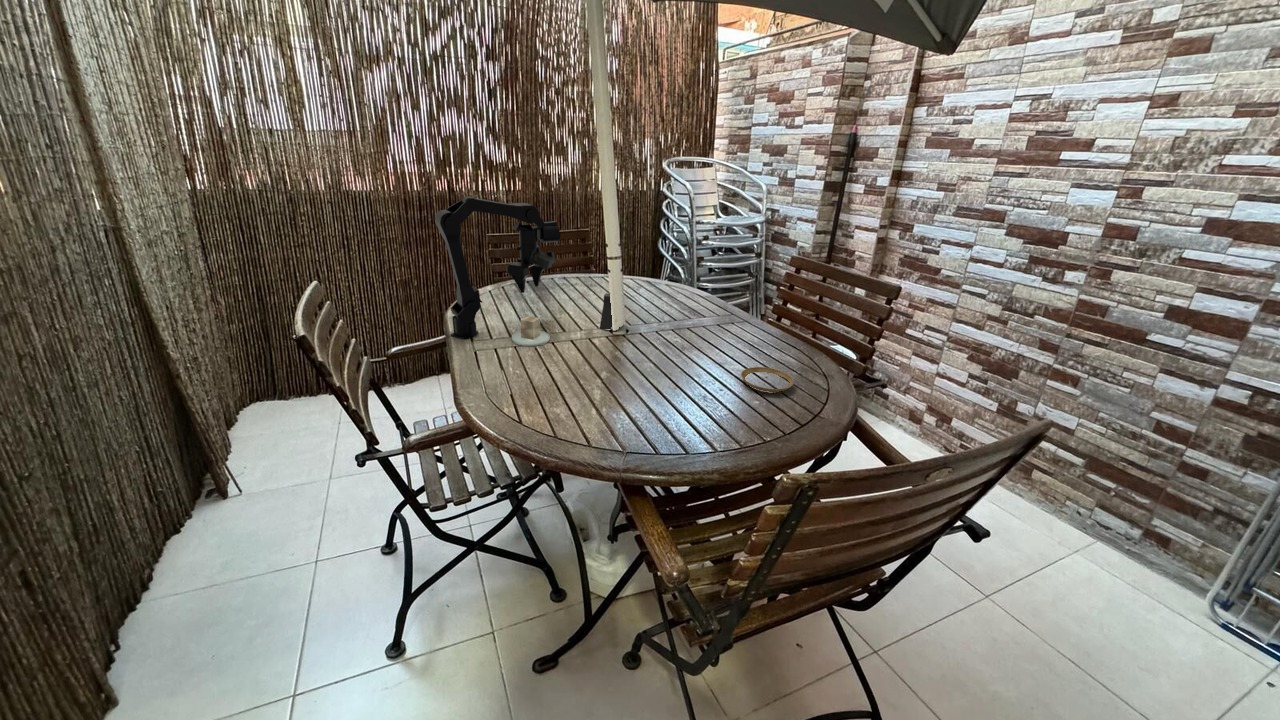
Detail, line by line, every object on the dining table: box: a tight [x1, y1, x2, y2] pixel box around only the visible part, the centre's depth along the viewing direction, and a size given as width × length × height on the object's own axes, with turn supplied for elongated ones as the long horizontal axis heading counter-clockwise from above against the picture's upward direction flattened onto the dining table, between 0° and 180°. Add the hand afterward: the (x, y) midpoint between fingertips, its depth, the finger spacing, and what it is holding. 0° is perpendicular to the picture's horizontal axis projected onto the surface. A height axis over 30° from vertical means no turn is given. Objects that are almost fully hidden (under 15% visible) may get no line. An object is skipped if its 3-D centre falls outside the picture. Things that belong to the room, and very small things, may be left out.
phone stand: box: [599, 293, 612, 330], centre depth 181 cm, size 9×6×12 cm, turn 161°
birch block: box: [520, 315, 541, 340], centre depth 166 cm, size 4×4×6 cm
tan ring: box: [740, 366, 795, 392], centre depth 146 cm, size 15×15×3 cm
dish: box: [511, 330, 550, 347], centre depth 167 cm, size 12×12×1 cm
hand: (529, 289), depth 175 cm, fingers open, 9 cm apart
